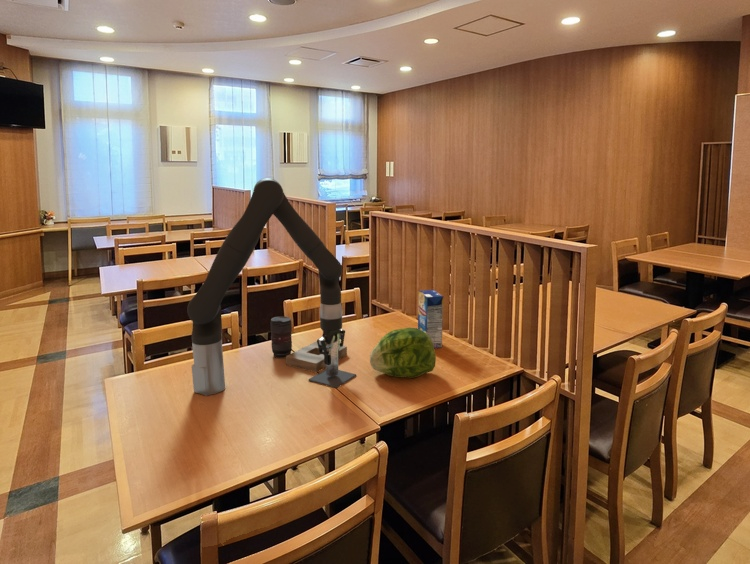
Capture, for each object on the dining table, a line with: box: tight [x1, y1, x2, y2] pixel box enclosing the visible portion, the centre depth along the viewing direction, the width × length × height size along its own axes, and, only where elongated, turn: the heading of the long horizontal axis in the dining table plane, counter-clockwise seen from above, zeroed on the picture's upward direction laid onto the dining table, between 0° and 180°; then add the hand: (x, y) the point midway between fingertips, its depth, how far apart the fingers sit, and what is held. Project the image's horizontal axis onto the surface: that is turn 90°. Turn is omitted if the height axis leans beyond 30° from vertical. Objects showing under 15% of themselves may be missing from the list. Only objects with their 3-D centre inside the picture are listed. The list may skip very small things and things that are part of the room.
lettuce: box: [369, 327, 437, 379], centre depth 176 cm, size 18×23×19 cm
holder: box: [285, 340, 348, 373], centre depth 191 cm, size 20×14×4 cm
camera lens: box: [270, 315, 293, 359], centre depth 195 cm, size 8×8×15 cm
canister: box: [325, 341, 339, 376], centre depth 173 cm, size 4×4×12 cm
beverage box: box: [417, 289, 444, 349], centre depth 206 cm, size 7×11×22 cm, turn 14°
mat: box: [308, 368, 357, 389], centre depth 175 cm, size 12×12×1 cm
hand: (331, 361), depth 174 cm, fingers closed on canister, 4 cm apart
